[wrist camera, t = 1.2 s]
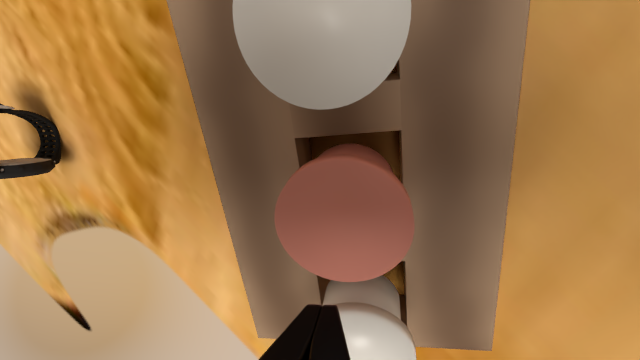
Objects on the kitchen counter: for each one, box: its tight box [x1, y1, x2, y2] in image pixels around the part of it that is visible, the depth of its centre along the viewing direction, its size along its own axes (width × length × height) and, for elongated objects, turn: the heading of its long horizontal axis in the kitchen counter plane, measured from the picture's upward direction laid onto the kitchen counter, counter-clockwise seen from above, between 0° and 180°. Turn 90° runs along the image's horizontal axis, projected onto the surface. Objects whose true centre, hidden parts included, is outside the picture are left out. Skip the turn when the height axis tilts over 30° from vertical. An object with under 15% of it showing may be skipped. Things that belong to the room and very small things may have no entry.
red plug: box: [274, 144, 415, 282], centre depth 15 cm, size 6×6×4 cm
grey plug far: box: [322, 275, 416, 360], centre depth 18 cm, size 6×6×4 cm
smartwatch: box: [0, 104, 61, 179], centre depth 20 cm, size 4×5×5 cm
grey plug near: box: [233, 0, 411, 110], centre depth 12 cm, size 6×6×4 cm
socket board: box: [167, 0, 530, 351], centre depth 18 cm, size 15×23×3 cm, turn 7°
